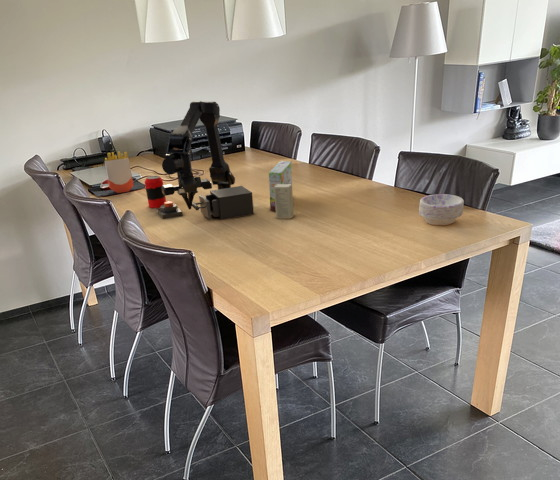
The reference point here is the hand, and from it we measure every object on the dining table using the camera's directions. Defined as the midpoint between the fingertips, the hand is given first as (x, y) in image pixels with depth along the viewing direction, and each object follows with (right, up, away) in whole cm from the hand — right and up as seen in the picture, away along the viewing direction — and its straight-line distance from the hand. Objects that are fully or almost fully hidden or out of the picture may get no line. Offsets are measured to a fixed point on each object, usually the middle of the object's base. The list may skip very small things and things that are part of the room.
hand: (189, 209), depth 225 cm
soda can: (-17, +7, +21) cm, 28 cm away
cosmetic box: (+37, -4, -3) cm, 38 cm away
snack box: (+36, +6, +13) cm, 39 cm away
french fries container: (-40, +22, +47) cm, 66 cm away
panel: (-10, +1, +9) cm, 14 cm away
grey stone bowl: (+93, -10, -19) cm, 96 cm away
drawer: (+9, -1, +3) cm, 10 cm away
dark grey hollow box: (+16, 0, +6) cm, 17 cm away
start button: (-10, +3, +8) cm, 13 cm away
